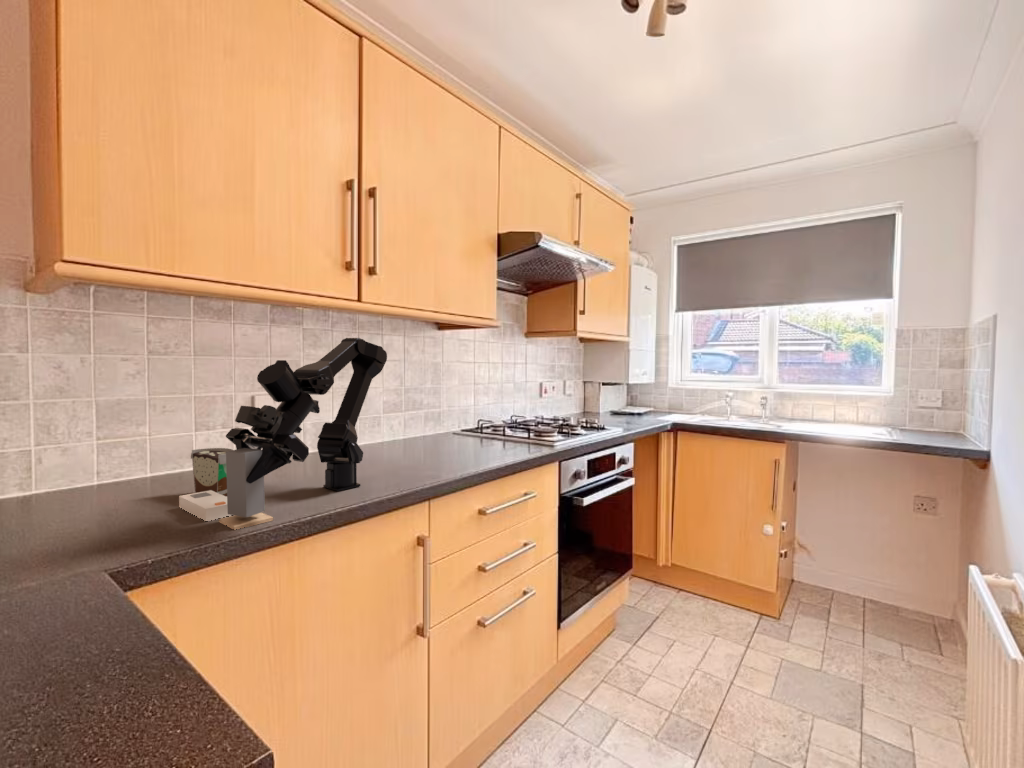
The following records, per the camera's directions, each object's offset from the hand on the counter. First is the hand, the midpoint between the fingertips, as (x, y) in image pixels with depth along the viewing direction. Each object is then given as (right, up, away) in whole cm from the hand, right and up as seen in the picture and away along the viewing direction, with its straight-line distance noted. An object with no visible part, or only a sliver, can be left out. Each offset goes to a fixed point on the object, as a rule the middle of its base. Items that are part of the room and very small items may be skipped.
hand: (238, 480), depth 92 cm
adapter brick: (+1, -7, +2) cm, 7 cm away
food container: (-16, -7, +21) cm, 28 cm away
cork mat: (+1, -8, +2) cm, 8 cm away
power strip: (-12, -8, +9) cm, 17 cm away
